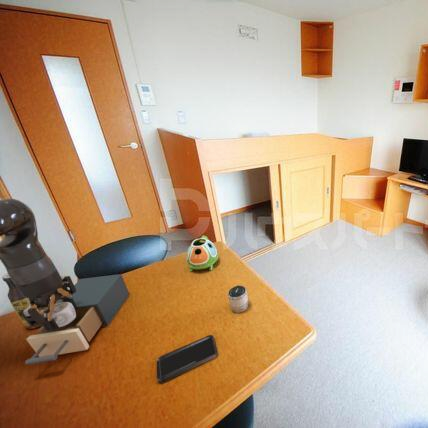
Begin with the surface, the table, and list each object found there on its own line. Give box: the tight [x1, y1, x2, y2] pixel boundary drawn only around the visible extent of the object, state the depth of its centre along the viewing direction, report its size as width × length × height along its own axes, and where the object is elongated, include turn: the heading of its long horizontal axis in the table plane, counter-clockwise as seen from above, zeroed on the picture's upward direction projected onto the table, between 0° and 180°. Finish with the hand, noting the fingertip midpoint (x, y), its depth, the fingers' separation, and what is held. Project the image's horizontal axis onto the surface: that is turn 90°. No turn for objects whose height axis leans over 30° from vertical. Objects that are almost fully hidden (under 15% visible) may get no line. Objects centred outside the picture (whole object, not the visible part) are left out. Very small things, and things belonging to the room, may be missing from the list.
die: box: [44, 302, 76, 327], centre depth 69 cm, size 5×5×5 cm
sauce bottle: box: [1, 273, 48, 330], centre depth 75 cm, size 6×6×20 cm
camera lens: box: [227, 285, 249, 314], centre depth 85 cm, size 6×6×8 cm
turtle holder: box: [185, 235, 219, 272], centre depth 108 cm, size 12×18×12 cm
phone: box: [156, 334, 219, 384], centre depth 68 cm, size 8×1×15 cm
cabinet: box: [55, 273, 130, 328], centre depth 81 cm, size 15×13×10 cm
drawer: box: [24, 306, 103, 366], centre depth 70 cm, size 19×11×8 cm, turn 13°
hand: (63, 318), depth 69 cm, fingers closed on die, 6 cm apart
